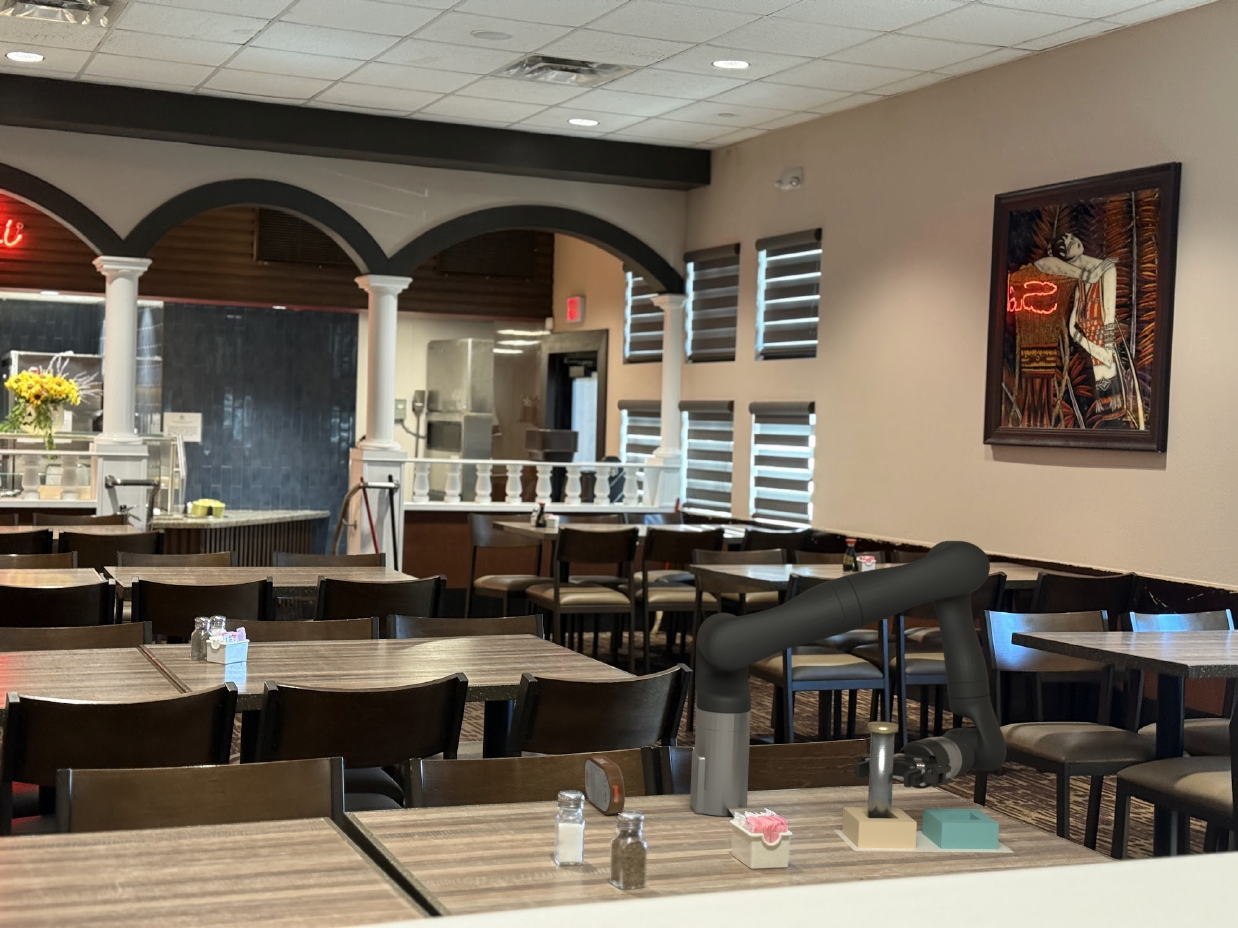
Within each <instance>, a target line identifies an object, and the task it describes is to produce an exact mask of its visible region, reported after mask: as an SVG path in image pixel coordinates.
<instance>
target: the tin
mask: <svg viewBox="0 0 1238 928" xmlns="http://www.w3.org/2000/svg"><path fill="white" fill-rule="evenodd" d="M583 765H584V766H583V769H584V790H585V795H586V798H587V800H588V802H589V803H590V804H591V805H592V806H593V807H595V808H596V809H597V810H598V811H600V813H602V814H603V815H605V816H611V815H612V816H613V815H618V813H621V814H622V813H623V812H624V808H625V805H626V804H625V801H626V794H625V793H626V791H625V782H624V778H623V773H622V771H621V768H620V767H619V765H618V764H617V763H616V762H614V761H612V760H611V759H610V758H608V757H607V756H606V755H604V754H599V755H590V756H588V757H587V758H586V759H585V761H584V764H583Z"/></svg>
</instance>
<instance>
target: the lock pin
mask: <svg viewBox="0 0 1238 928" xmlns="http://www.w3.org/2000/svg"><path fill="white" fill-rule="evenodd" d="M867 730H868V731H869V732H870V748H869V754H870V769H869V776H868V797H867V807H868V816H867V817H868V818H886V819H891V808H893V807H892V805H893V803H892V802H893V782H894V778H893V760H894V755H895V734H898V733H899V724H897V723H894V722H888V721H870V722H868V723H867Z"/></svg>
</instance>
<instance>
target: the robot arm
mask: <svg viewBox="0 0 1238 928" xmlns="http://www.w3.org/2000/svg"><path fill="white" fill-rule="evenodd" d="M990 563H991V562H990V559H989V557H988V555H987V554H986V553H985V551H984V550H983V549H982V548H980V547H979V546H978V545H976V544H974V543H972V542H968V541H964V540H945V541H944V540H943V541H941V542H938V543H936V544H935V545H934V546H932V548H930V549H929V551H928V552H927V554H926V556H924V557H922V558H920V559H919V558H918V559H916V560H914V561H912V562H908V563H904V564H901V565H894V566H888V567H882V568H881V567H880V568H875V569H870V570H869V569H868V570H864V571H859V572H854V573H851V574H847V575H843V576H840V577H837V578H834V579H830V580H828V581H825V582H822V583H820V584H817V585H815V586H813V587H810V588H809V589H806V590H805V591H802V592H801V593H799V594H798V595H796V596H795V597H793V598H791V599H789V600H788V601H786V602H784V603H782V604H780V605H778V606H775V607H773V608H769V609H766V610H765V609H764V610H763V611H762V610H761V611H758V612H754V613H750V614H745V615H744V614H743V615H738V616H737V615H735V614H732V613H728V612H719V613H715V614H712V615H710V616H709V617H706V619H705V620H704V621H703V622H702V623H701V625H700V626H699V629H698V630H697V631H698V632H697V635H696V641H695V642H696V644H695V670H694V671H695V676H694V677H695V678H694V679H695V681H694V685H695V687H694V688H695V693H696V713H695V714H696V715H695V736H694V737H695V739H694V749H693V750H692V751H691V774H690V775H691V778H690V796H689V797H690V798H689V800H690V801H689V805H690V806H691V807H690V808H692V810H693V812H694V813H695V814H705V815H709V816H710V815H711V816H720V817H721V816H724V817H729V816H730V817H732V816H734V814H733V813H732V812H731V810H730V809H738V808H739V809H740V808H741V809H742V808H748V787H749V786H748V785H749V784H748V783H749V766H750V765H749V762H750V760H749V759H750V738H751V735H750V734H751V713H752V712H751V710H752V694H751V690H750V684H749V666H751V665H753V664H755V663H758V662H760V661H762V660H765V659H767V658H768V657H769V658H770V657H771V656H774V655H776V654H778V653H781V652H783V651H785V650H789V649H791V648H794V647H799V646H802V645H807V644H811V643H815V642H818V641H822V640H826V639H830V638H832V637H836V636H839V635H843V634H846V633H847V634H848V633H850V632H852V631H855V630H858V629H862V628H866V627H867V626H870V625H871V624H874V623H877V622H880V621H883V620H885V619H888V618H891V617H892V616H895V615H897V614H899V613H902V612H904V611H907V610H910V609H911V608H914V607H917V606H920V605H924V604H928V603H931V602H933V605H934V608H935V612H936V613H935V614H936V619H937V622H938V627H939V632H940V639H941V644H942V651H943V658H944V659H943V660H944V667H945V678H946V686H947V687H946V688H947V697H948V705H949V706H948V707H949V709H950V712H951V713H952V714H954V715H956V716H960V717H964V718H967V719H969V720H971V722H972V723H973V725H974V726H975V728H973V727H970V728H969V727H968V728H967V727H959V728H958V727H957V728H956V727H955V728H953V729H952V728H951V729H949V730H947V731H946V732H945V733H944V734H943V735H941V736H935V737H934V736H931V737H926V738H922V739H919V740H915V741H911V742H908V743H906V744H905V745H904V746H902V747H901V748H900V751H899V752H898V753H894V760H893V779H896V780H903V787H905V788H908V789H909V788H914V789H920V790H921V789H927V788H930V787H932V788H939V787H941V786H944V785H946V784H948V783H951V779H953V778H957V777H960V776H962V775H964V774H966V773H967V772H968V771H970V770H975V771H996V770H998V769H1000V768H1001V767H1002V766H1003V765H1004V763H1005V761H1006V758H1007V751H1008V750H1007V743H1006V739H1005V737H1004V734H1003V732H1002V729H1001V727H1000V724H999V722H998V720H997V717H996V713H995V711H994V707H993V705H992V704H993V703H992V702H991V701H992V700H991V695H990V685H989V684H990V683H989V675H988V669H987V664H986V659H985V655H984V651H983V649H982V645H981V643H980V640H979V637H978V633H977V629H976V627H975V623H974V622H975V621H974V618H973V617H974V616H973V611H972V603H971V602H972V593H974V592H975V591H978V590H979V589H980V588H981V587H982V586H983V585H984V584H985V582H986V581H987V579H988V577H989V574H990V570H991V564H990ZM869 769H870V753H866V754H863V755H857V759H856V764H854V769H853V770H854V771H853V773H854V777H855V778H858V779H862V778H865V777H869Z"/></svg>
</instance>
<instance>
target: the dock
mask: <svg viewBox="0 0 1238 928" xmlns="http://www.w3.org/2000/svg"><path fill="white" fill-rule="evenodd" d="M922 809H923V810H922V830H917V829H918V828H917V825H918V824H917V823H918V822H917V821H916V820H914V819H913V818H912V817H911V816H909V815H908V814H907V813H906V812H904V811H903V810H902V809H901V808H899V807H892V808H891V819H886V818H868V817H867V816H868V806H864V807H862V806H857V807H856V806H855V807H854V806H847V807H846V806H844V807H843V808H842V827H841V829H833V831H834V832H835V833H836V834H837V836H839V837H840V838H841V840H843V841H844V842H845V843H846V844H847V846H849V847H850V848H851V849H852V850H853V852H915V853H916V852H919V853H921V852H922V853H924V852H926V853H928V852H930V853H933V852H934V853H935V852H936V853H937V852H938V853H939V852H940V853H944V852H945V853H1007V854H1008V853H1015V852H1014V851H1013V850H1011V849H1010V848H1009V847H1008V846H1006V845H1005V844H1003V843H1002V842H1001V841H999V831H1000V830H999V829H1000V823H999V822H998V821H996V820H995V819H993V818H992V817H991V816H989V815H988V814H986V813H984V812H983V811H981V810H980V809H978V808H937V807H934V808H929V807H928V808H924V807H923V808H922Z"/></svg>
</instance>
